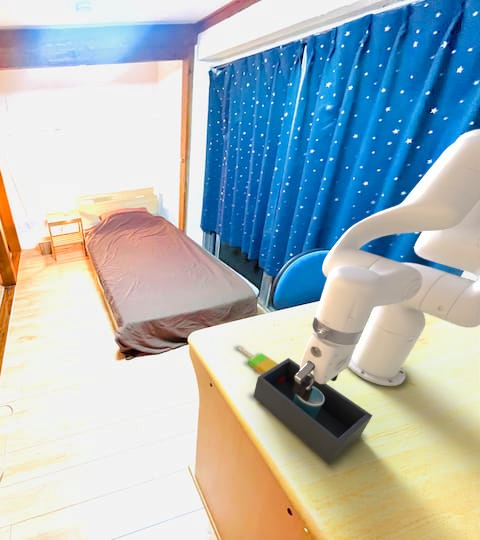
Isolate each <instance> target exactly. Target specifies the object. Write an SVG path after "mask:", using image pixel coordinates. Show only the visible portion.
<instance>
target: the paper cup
mask: <svg viewBox="0 0 480 540" xmlns="http://www.w3.org/2000/svg"><path fill="white" fill-rule="evenodd" d="M311 388H312V389H313V390H312V393H311V396H310V398H309V401H307V402H305V401H304V400H303V399H302V398H300V397H299V396H298V395H296V394H295V396H294V399H293V403H295V404H296V405H297V406H298V407H299V408H301V409H302V410H303V411H304V412H306V413H307V414H308V415H309V416H311V417H312V418H313V419H314V420H316V418H317V415H318V413H319V411H320V408H321V406H322V404H323V403H324V396H323V394H322V393H321V392H320V391H319V390H318V389H317V388H315V387H313V386H312V387H311Z"/></svg>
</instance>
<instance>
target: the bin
mask: <svg viewBox="0 0 480 540" xmlns="http://www.w3.org/2000/svg"><path fill="white" fill-rule="evenodd" d="M277 364H278V365H276V366H275V367H273V368H271V369H270V370H268V371H267V372H265V373H263V374H260V375H258V376H257V379H256V382H255V383H256V384H255V387H254V392H253V395H252V397H253V398H254V399H255V400H256V401H257V402H258V403H259V404H260V405H262V407H264V408H265V409H266V410H267V411H268V412H269V413H271V415H273V416H274V417H275V418H276V419H277V420H279V422H281V424H283V426H285V427H286V428H287V429H288V430H289V431H291V432H292V433H293V434H294V435H295V436H296V437H297V438H298V439H300V441H302V442H303V443H304V444H305V445H306V446H307V447H308V448H309V449H311V450H312V451H313V452H314V453H315V454H316V455H317V456H318V457H320V459H322V460H323V461H324V462H325V463H326V464H327V465H331V464H332V463H333V462H334V461H335V460H337V459H338V458H339V457H340V456H341V455H342V454H343V453H344V452H345V451H346V450H348V448H350V447H351V446H352V445H353V444H354V443H355V442H356V441H357V440H358V439H359V438H360V437H361V436H362V435H363V433H364V432H365V429H366V428H367V426H368V424H369V423H370V421H371V419H372V417H373V414H371V413H370V412H368V411H367V410H366V409H364V408H363V407H361V406H360V405H358V404H357V403H355V402H354V401H352V400H351V399H350V398H348V397H347V396H345V395H343V394H342V393H341V392H339V391H338V390H337V389H335V388H333V387H332V386H331V385H329V384H327V383H325V384H319V383H318V382H315V383H314V385H313V387H315V388H317V389H318V390H319V391H320V392H321V393H322V394H323V396H324V403H323V404H322V406H321V408H320V411H319V413H318V415H317V418H316V420H314V419H313V418H312V417H311V416H309V415H308V414H307V413H306V412H304V411H303V410H302V409H301V408H299V407H298V406H297V405H296V404H295V403H293V399H294V396H295V393H294V392H293V388H294V385H295V380H294V379H295V378H294V377H295V375H296V374H297V373H298V372H299V371H300V364H298V363H297V362H295V361H294V360H292V359H291V358H289V357H287V358H286V359H284V360H283V361H281V362H280V363H277ZM311 374H312V375H314V374H313V373H311ZM284 376H285V380H284V381H283V382H281V383H278V381H279V380H280V379H281V378H283V377H284ZM311 379H312V378H311V377H309V376H307V377H306V378H305V381H306V382H307V383H309V382H310V381H311Z"/></svg>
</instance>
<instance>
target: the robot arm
mask: <svg viewBox="0 0 480 540" xmlns="http://www.w3.org/2000/svg"><path fill="white" fill-rule="evenodd" d="M410 233H412V234H413V233H420V235H419V237H418V238H417V240H416V242H415V244H414V247H413V248H414V253H415V254H416V255H417V256H418V257H419V258H422V259H424V260H426V261H430V262H433V263H437V264H440V265H443V266H447V267H450V268H454V269H457V270H460V271H464V272H467V273H471V274H473V275H475V276H476V277H477V279H476V280H473V279H470V278H466V277H463V276H459V275H456V274H453V273H450V272H447V271H444V270H440V269H437V268H433V267H431V266H426V265H424V264H419V263H413V262H400V261H396V260H393V259H390V258H387V257H384V256H381V255H378V254H375V253H371V252H368V251H365V250H363V249H362V250H361V248H362V247H363V246H365V245H366V244H368V243H370V242H371V241H373V240H376V239H379V238H382V237H386V236H391V235H400V234H410ZM321 271H322V273H323V276H324V277H325V278H326V280H325V283H324V286H323V290H322V293H321V297H320V300H319V303H318V305H317V309H316V312H315V315H314V317H313V321H312V324H311V331H312V334H311V336H310V339H308V342H307V345H306V347H305V349H304V352H303V354H302V357H301V360H300V363H299V365H300V371H299V372H298V373H297V374H296V375H295V377H294V378H295V379H294V380H295V385H294V388H293V392H294V393H295V394H296V395H298V396H299V397H300V398H302V399H303V400H304V401H305V402H307V401H309V398H310V396H311V393H312V390H313V389H312V388H311V387H312V386H313V385H314V383H315V382H318V383H319V384H325V383H326V384H327V383H329V382H330V381H332V382H336V381H337V379H338V377H339V375H340V374H341V373H342V372H343V371H344V370H346V369H347V368H349V369H350V370H351V371H352V372H354V373H355V374H356V375H357V376H359V377H360V378H361V379H364V380H366V381H368V382H371V383H373V384H377V385H379V386H384V387H394V386H399V385H401V384H403V382H404V381H405V379H406V372H405V370H404V369H403V365H404V364H405V362H406V360H407V358H408V357H409V355H410V354H411V352H412V350H413V348H414V347H415V345H416V343H417V341H418V340H419V339H420V336H421V335H422V333H423V332H424V330H425V326H426V318H425V314H427V315H429V316H433V317H434V318H436V319H439V320H442V321H444V322H447V323H450V324H451V325H455V326H458V327H462V328H470V329H471V328H476V327H479V326H480V128H478V129H477V128H476V129H472V130H469V131H467V132H465V133H463V134H462V135H460V136H459V137H458V138H457V139H456V140H455V141H454V142H453V143H452V144H451V145H449V146H448V147H447V148H446V149H445V150H444V151H443V152H442V153H441V154H440V156H439V157H438V158H437V160H436V161H435V162H434V163H433V164H432V166H431V167H430V168H429V169H428V170H427V172H425V174H424V175H423V177H422V178H421V179H420V181H418V183H417V184H416V185H415V186H414V188H412V190H411V191H410V192H409V193H408V195H407V196H406V197H405V199H404V200H403V201H402V202H401V203H399V204H398V205H397V204H396V205H395V206H391V207H389V208H386V209H383V210H380V211H378V212H376V213H373V214H371V215H370V216H367V217H365V218H363V219H362V220H360V221H358V222H356V223H354V224H353V225H352V226H351V227H349V228H348V229H347V230H346V231H345V232H344V233H343V234H342V235H341V237H340V238H339V239H338V241H337V242H336V243H335V244H334V246H333V247H332V248H331V249H330V251H329V252H328V253H327V255H326V256H325V258H324V260H323V263H322V268H321ZM312 374H313V375H312ZM307 376H309V377H311V378H312V379H311V381H310V382H309V383H307V382H306V381H305V378H306V377H307Z"/></svg>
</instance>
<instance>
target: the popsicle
mask: <svg viewBox="0 0 480 540" xmlns="http://www.w3.org/2000/svg"><path fill="white" fill-rule="evenodd" d="M237 350H239V351H240V352H241V353H243V354H245V355H246V357H248V358H250V359H248V361H247V365H249V366H250V367H251V368H253V369H254V370H255V371H257V372H258V373H260V375H262V374H263V373H265V372H267V371H268V370H270V369H271V368H273V367H275V366H276V365H278V364H279V363H277V362H276V361H274V360H272V359H271V358H270V357H268V356H267V355H265V354H263V352H262V353H261V352H260V353H257V355H255V356H254V355H252V354H251V353H250V352H249V351H247V350H245V349H244V348H242V347H241V346H238V347H237ZM284 380H285V376H284V377H283V378H281V379H280V380H279V381H278V383H281V382H283V381H284Z"/></svg>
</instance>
